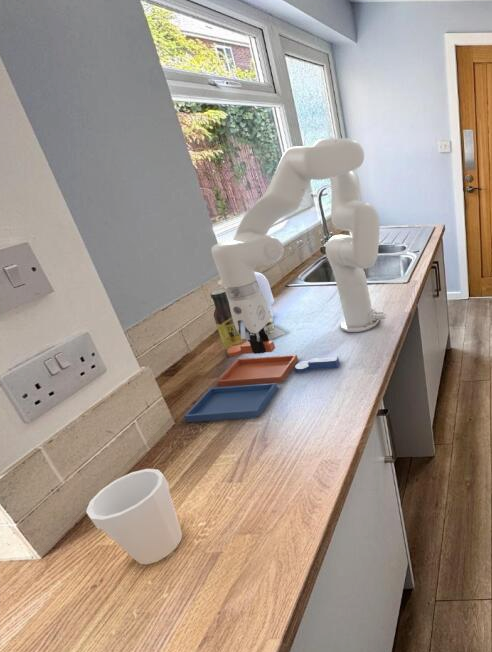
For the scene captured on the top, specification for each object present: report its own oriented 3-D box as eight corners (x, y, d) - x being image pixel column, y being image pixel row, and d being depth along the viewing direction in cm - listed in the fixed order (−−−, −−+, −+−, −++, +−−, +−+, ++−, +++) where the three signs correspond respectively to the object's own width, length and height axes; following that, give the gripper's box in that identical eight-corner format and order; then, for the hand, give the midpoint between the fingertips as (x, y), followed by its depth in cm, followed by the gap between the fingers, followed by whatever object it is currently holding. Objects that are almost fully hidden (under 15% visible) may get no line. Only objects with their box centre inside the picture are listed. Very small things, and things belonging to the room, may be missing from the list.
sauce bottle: (238, 355, 125) (216, 297, 117) (221, 354, 126) (198, 296, 118) (253, 344, 131) (234, 288, 123) (237, 343, 132) (216, 287, 124)
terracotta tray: (298, 360, 121) (296, 354, 120) (282, 382, 111) (280, 376, 110) (240, 364, 120) (237, 358, 120) (218, 387, 110) (216, 381, 109)
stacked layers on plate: (256, 346, 130) (250, 331, 128) (243, 338, 135) (238, 324, 133) (286, 333, 137) (281, 318, 135) (273, 326, 142) (269, 312, 140)
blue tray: (278, 388, 108) (276, 382, 108) (258, 417, 98) (256, 410, 97) (213, 393, 108) (210, 387, 107) (186, 422, 98) (183, 416, 97)
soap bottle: (247, 327, 142) (224, 263, 132) (248, 316, 151) (226, 255, 140) (279, 320, 146) (259, 257, 136) (278, 309, 155) (259, 249, 144)
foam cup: (150, 523, 73) (118, 471, 67) (203, 518, 73) (176, 465, 68) (109, 577, 64) (69, 523, 59) (170, 571, 65) (135, 516, 59)
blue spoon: (341, 361, 119) (339, 354, 118) (336, 370, 115) (334, 362, 114) (299, 364, 119) (297, 357, 118) (293, 373, 115) (291, 366, 114)
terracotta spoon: (277, 345, 115) (274, 338, 114) (270, 354, 111) (267, 346, 110) (233, 348, 114) (230, 341, 113) (224, 357, 110) (221, 349, 109)
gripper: (241, 300, 97) (262, 364, 105) (270, 277, 112) (287, 335, 120) (209, 302, 97) (233, 366, 105) (243, 278, 112) (262, 336, 119)
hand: (262, 349), depth 112 cm, fingers closed on terracotta spoon, 2 cm apart
